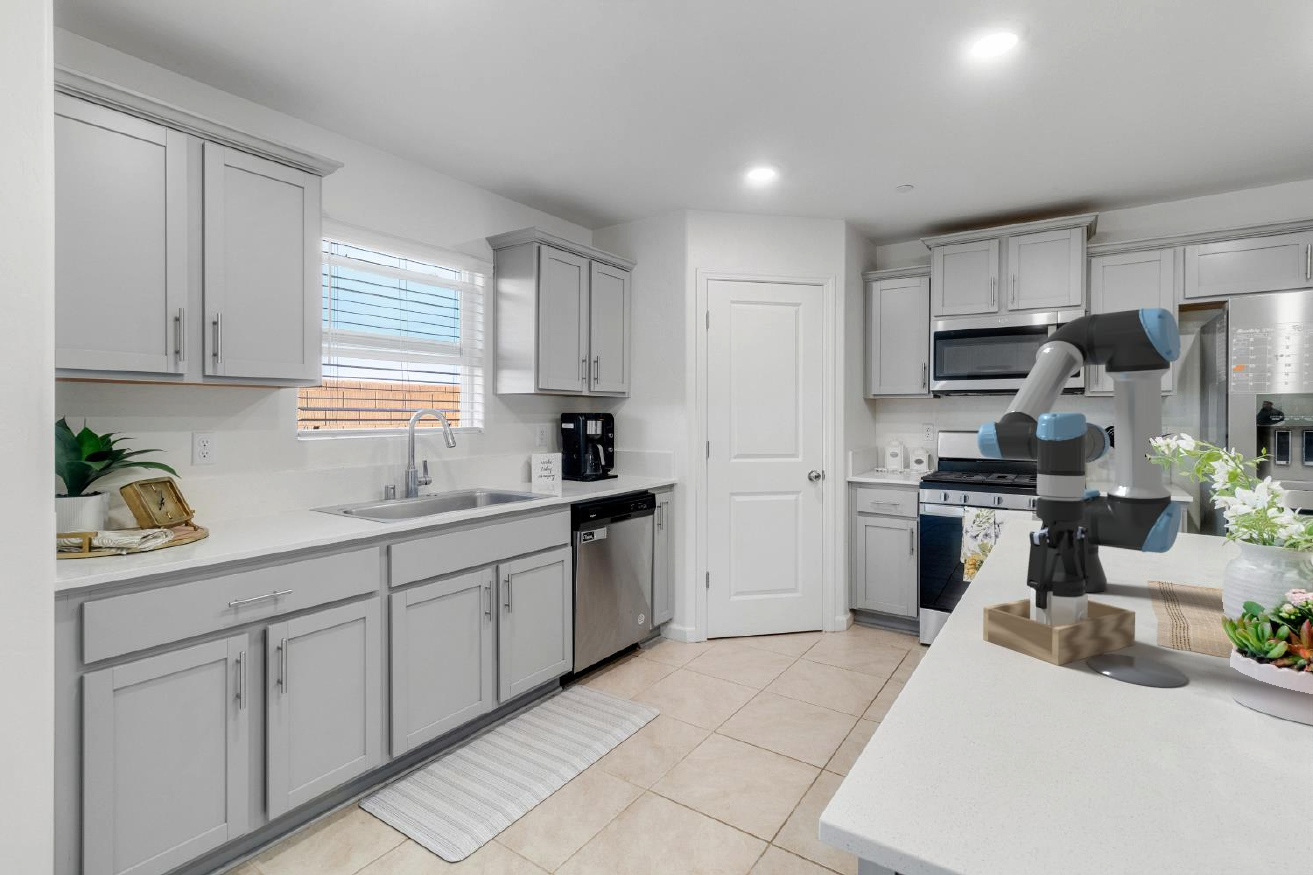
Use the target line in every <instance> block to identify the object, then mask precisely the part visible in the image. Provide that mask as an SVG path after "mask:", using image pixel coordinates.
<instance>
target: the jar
mask: <svg viewBox="0 0 1313 875" xmlns="http://www.w3.org/2000/svg"><path fill="white" fill-rule="evenodd" d="M1044 584H1045V583H1044ZM1085 590H1086V585H1085V579H1084V578H1082V577H1079V576H1076V575H1072V574H1067V573H1060V572H1054V576H1053V580H1052V584H1051V588H1050V591H1052V592H1053V596H1052V626H1054V627H1059V626H1063V625H1067V624H1072V623H1076V622H1080V621H1085V620H1087V619H1088V600H1089V594H1088V593H1087V592H1085ZM1029 597H1030V598H1029V599H1030V619H1031V620H1034V621H1036V605H1035V603H1036V590H1035V588H1030V596H1029ZM1047 609H1048V596H1047ZM1047 609H1044V613H1045V624H1047Z"/></svg>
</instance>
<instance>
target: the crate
mask: <svg viewBox="0 0 1313 875" xmlns="http://www.w3.org/2000/svg"><path fill="white" fill-rule="evenodd" d="M982 613H983V617H982V618H983V619H982V620H983V623H982V624H983V627H982V632H983V633H982V638H983V639H982V640H983V641H985V642H986V641H987V642H990V643H992V644H995V645H998V646H1001V647H1004V648H1007V649H1009V650H1012V651H1015V652H1019V653H1021V654H1024V655H1027V656H1030V657H1032V658H1036V659H1038V660H1042V661H1044V662H1047V663H1049V664H1053V665H1055V666H1060V665H1065V664H1069V663H1072V662H1076V661H1079V660H1083V659H1086V658H1090V657H1092V656H1095V655H1101V654H1105V653H1109V652H1112V651H1116V650H1120V649H1122V648H1123V649H1124V648H1127V647H1131V646H1134V645H1135V643H1136V642H1135V641H1136V640H1135V639H1136V611H1134V610H1131V609H1127V608H1126V609H1125V608H1122V607H1117V606H1114V605H1110V604H1105V603H1102V602H1097V601H1094V600H1090V599H1088V619H1087V620H1085V621H1080V622H1076V623H1072V624H1067V625H1063V626H1059V627H1054V626H1051V625H1048V624H1044V623H1041V622H1037V621H1034V620H1031V619H1030V598H1025V599H1020V600H1014V601H1011V602H1006V603H999V604H995V605H990V606H985V607H983V612H982Z"/></svg>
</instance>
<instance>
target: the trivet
mask: <svg viewBox="0 0 1313 875" xmlns="http://www.w3.org/2000/svg"><path fill="white" fill-rule="evenodd" d="M1087 665H1088V666H1089V668H1091V669H1092V670H1093V671H1095V672H1097V673H1099V674H1101V675H1103V676H1105V677H1108V678H1111V679H1114V680H1117V681H1121V682H1126V683H1129V684H1134V685H1140V686H1145V687H1153V688H1176V687H1181V686H1184V685H1186V683H1187V682H1188V677H1187V676H1186V674H1185V673H1184V672H1182V671H1181V670H1179V669H1177V668H1175V667H1173V666H1170V665H1168V664H1165V663H1162V662H1160V661H1155V660H1151V659H1148V658H1143V657H1139V656H1133V655H1124V654H1115V653H1107V654H1105V653H1102V654H1098V655H1094V656H1091V657H1088V659H1087Z"/></svg>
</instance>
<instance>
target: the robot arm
mask: <svg viewBox="0 0 1313 875" xmlns="http://www.w3.org/2000/svg"><path fill="white" fill-rule="evenodd" d="M1180 355H1181V337H1180V332H1179V328H1178V324H1177V321H1176V319H1175V317H1174V315H1173V314H1172V312H1171V311H1169V310H1168V309H1166V308H1163V307H1162V308H1161V307H1160V308H1159V307H1155V308H1139V309H1132V310H1124V311H1123V310H1122V311H1114V312H1106V313H1098V314H1097V313H1094V314H1086V315H1083V316H1080V317H1077V318H1075V319H1072V320H1071V321H1069V322H1067V323H1065V324H1063V325H1062V326H1061V327H1059V328H1057V330H1055V331H1054V332H1052V333H1051V334H1050V335H1049V336H1048V337H1047V338H1046V339H1044V341H1043V342H1042V344H1041V345H1040V347H1039V348H1038V350H1037V352H1036V354H1035V361H1036V362H1035V363H1034V365H1033V367H1032V369H1031V370H1030V372H1029V373H1028V375H1027V377H1026V378H1025V380H1024V381H1023V383H1022V384H1021V386H1020V388H1019V390H1018V391H1017V393H1016V394H1015V396H1014V398H1013V399H1012V401H1011V402H1010V404H1009V405H1008V408H1007V410H1006V411H1005V412H1004V414H1003V416H1002V417H1001V419H1000V420H999V421H998V422H996V421H992V422H985V423H983V424H982V425H981V426H980V427H979V430H978V433H977V438H976V439H977V447H978V450H979V452H980V454H981V455H982V456H983V457H985V458H989V459H998V460H999V459H1000V460H1017V461H1036V474H1037V475H1036V494H1037V495H1038V496H1039V497H1037V498H1036V500H1035V501H1036V502H1035V503H1036V504H1035V509H1036V510H1035V516H1036V517H1037V518H1038V519H1040V520H1041V521H1042V523H1041V526H1040V530H1039V531H1030V532H1029V536H1028V537H1029V542H1030V548H1029V558H1028V567H1027V576H1026V586H1027V587H1029V588H1030V589H1031V588H1035V590H1036V603H1035V605H1036V621H1037V622H1041V623H1044V624H1045V613H1044V609H1047V596H1048V609H1047V624H1048V625H1051V626H1052V596H1053V592H1052V591H1050V588H1051V584H1052V580H1053V576H1054V572H1060V573H1067V574H1072V575H1076V576H1079V577H1082V578H1084V579H1085V585H1086V590H1085V593H1099V592H1104V591H1107V589H1108V586H1107V585H1108V580H1107V579H1108V578H1107V577H1106V573H1105V570H1104V568H1103V565H1102V562H1101V560H1100V557H1099V555H1100V554H1099V549H1100V548H1099V546H1100V547H1108V548H1114V549H1122V550H1130V551H1137V552H1138V551H1139V552H1142V553H1159V554H1163V553H1166V552H1168V551H1170V550H1171V549H1172V547H1173V545H1174V543H1175V542H1176V539H1177V536H1178V534H1179V529H1180V526H1181V519H1182V507H1181V504H1180V503H1179V502H1176V501H1173V500H1172V494H1171V491H1170V490H1168V489H1167V488H1166V487H1165V486H1163V466H1161V465H1160V464H1152V463H1151V462H1150V461H1149V459H1148V458H1147V457H1145V454H1150V455H1156V452H1155V450H1154V449H1153V447H1152V445H1151V443H1149V439H1150V438H1155V437H1163V434H1162V431H1163V430H1162V429H1163V428H1162V427H1163V425H1162V424H1163V423H1162V421H1163V420H1162V417H1163V416H1162V410H1163V409H1162V405H1163V404H1162V378H1163V376H1164V375H1166V374H1167V373H1168V372H1169V371H1170V370H1171V363H1173V362H1176V361H1178V360H1179V359H1180ZM1087 366H1104V372H1105V375H1107V376H1108V377H1110V378H1111V379H1112V381H1113V424H1114V425H1113V432H1114V438H1113V439H1114V484H1113V485H1112V486H1111V487H1110V488H1108V489H1107V490H1106V491H1107V492H1106V494H1107V495H1106V496H1101V492H1100V490H1098V489H1091V488H1090V489H1089V488H1088V489H1086V463H1087V464H1088V463H1091V462H1095V461H1097V460H1099V459H1101V458H1103V457H1104V456H1105V455H1106V454H1107V453H1108V451H1109V448H1110V446H1111V440H1110V436H1109V434H1108V432H1107V430H1106V429H1104V428H1103V427H1102V426H1100V425H1098V424H1095V423H1092V422H1089V421H1087V417H1086V415H1085V414H1083V413H1081V412H1080V413H1079V412H1067V413H1066V412H1065V413H1064V412H1061V413H1060V412H1057V413H1056V412H1054V413H1053V412H1051V411H1052V410H1053V408H1054V406H1055V404H1056V403H1057V400H1058V399H1059V397H1060V395H1061V394H1062V392H1063V390H1064V389H1065V387H1066V385H1067V384H1068V382H1069V379H1070V378H1071V376H1074V375H1076V374H1077V373H1078V372H1079V371H1080V370H1081V369H1082V367H1083V368H1084V367H1087ZM1044 583H1045V584H1044Z"/></svg>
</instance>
